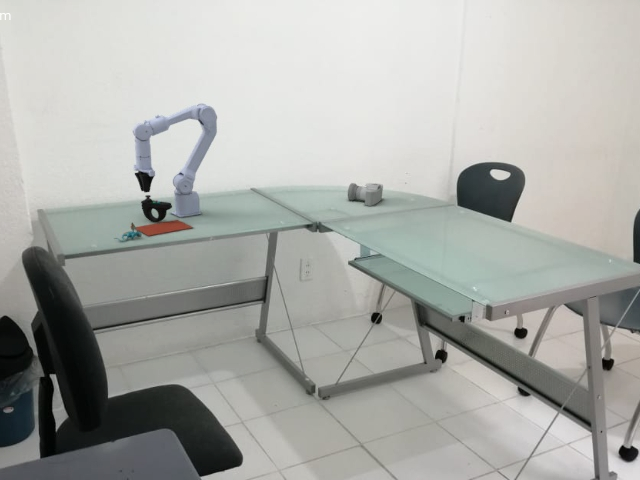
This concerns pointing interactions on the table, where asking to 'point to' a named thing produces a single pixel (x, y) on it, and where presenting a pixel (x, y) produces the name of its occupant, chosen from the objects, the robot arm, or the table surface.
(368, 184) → the digital camera
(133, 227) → the dragon figurine
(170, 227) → the mat
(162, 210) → the controller
